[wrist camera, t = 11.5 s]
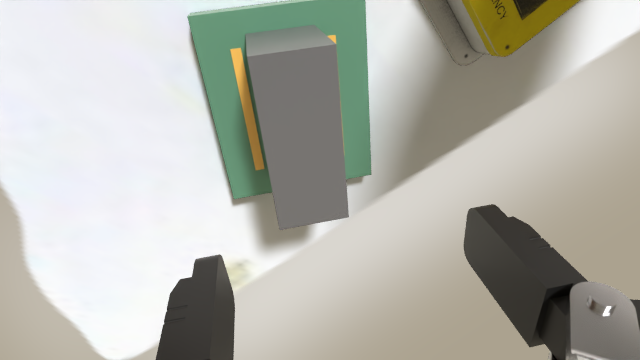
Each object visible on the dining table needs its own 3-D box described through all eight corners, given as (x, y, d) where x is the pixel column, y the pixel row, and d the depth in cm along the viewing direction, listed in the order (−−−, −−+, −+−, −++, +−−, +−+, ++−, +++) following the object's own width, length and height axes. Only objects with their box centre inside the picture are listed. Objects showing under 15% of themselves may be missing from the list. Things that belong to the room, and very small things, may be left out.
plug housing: (245, 33, 22) (246, 56, 17) (314, 24, 22) (336, 44, 17) (272, 178, 27) (279, 230, 22) (328, 168, 27) (348, 217, 22)
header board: (190, 13, 22) (178, 25, 18) (358, -9, 23) (384, -1, 19) (234, 188, 28) (233, 228, 24) (365, 165, 29) (386, 200, 25)
